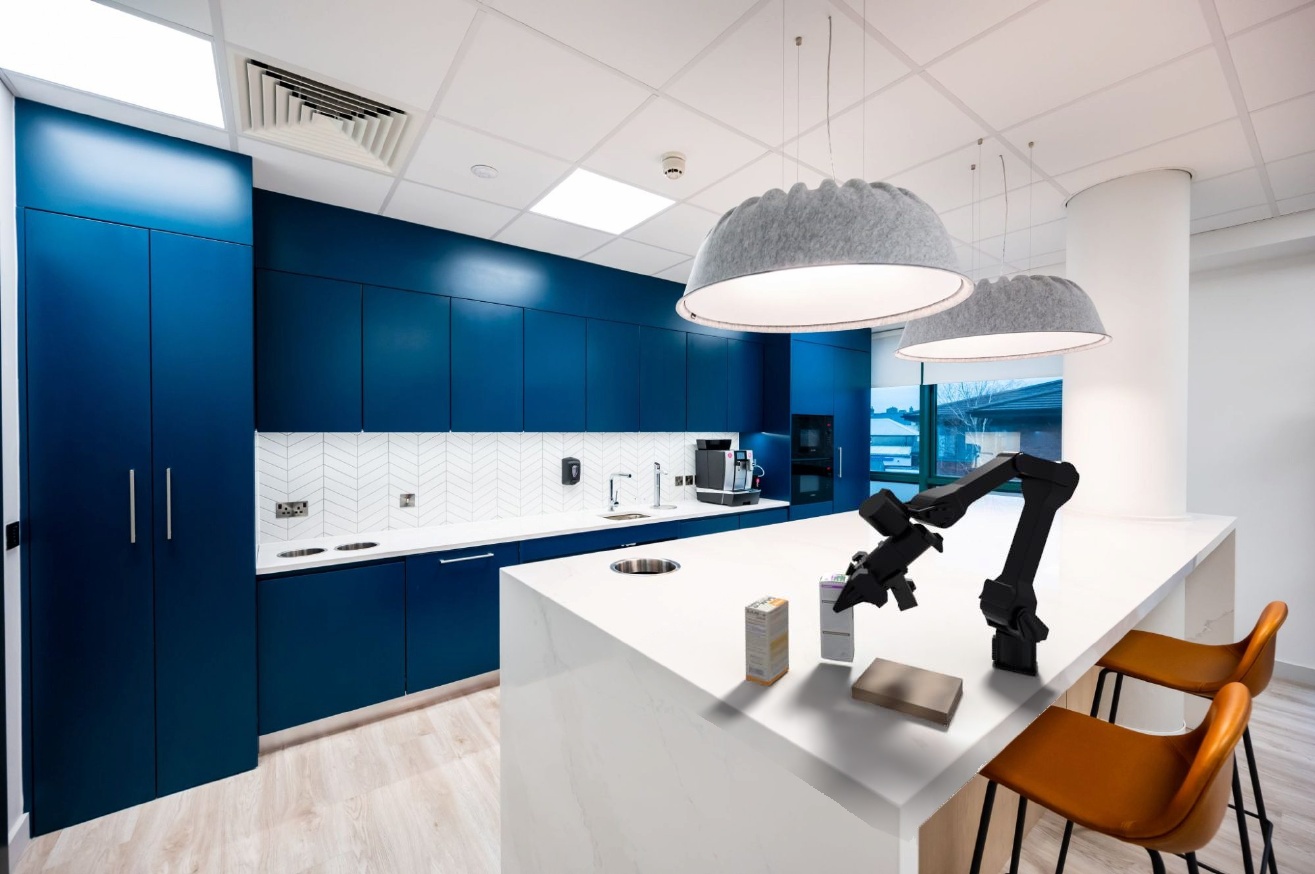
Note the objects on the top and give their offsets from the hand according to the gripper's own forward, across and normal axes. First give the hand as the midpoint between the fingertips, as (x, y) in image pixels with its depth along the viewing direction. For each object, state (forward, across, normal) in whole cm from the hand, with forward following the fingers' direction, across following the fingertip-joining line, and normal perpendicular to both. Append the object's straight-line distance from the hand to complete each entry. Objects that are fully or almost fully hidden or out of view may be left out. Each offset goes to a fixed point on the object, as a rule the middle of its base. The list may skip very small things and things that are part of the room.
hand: (835, 605), depth 100 cm
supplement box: (+16, -8, 0) cm, 18 cm away
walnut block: (0, -8, -17) cm, 18 cm away
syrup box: (+6, 0, -7) cm, 9 cm away
